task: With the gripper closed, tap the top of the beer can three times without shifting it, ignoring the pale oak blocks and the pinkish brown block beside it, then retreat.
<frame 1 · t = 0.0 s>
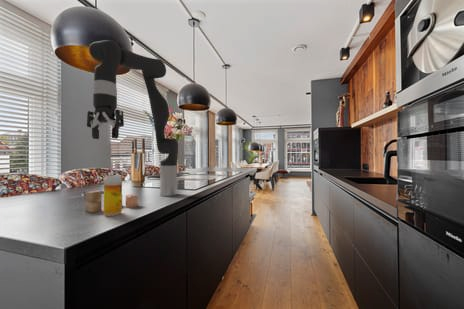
hand: (105, 138, 76), 29 cm above the counter, fingers open, 8 cm apart
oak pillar: (93, 210, 85), on the counter
pinkish brown block: (132, 206, 93), on the counter
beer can: (112, 214, 80), on the counter
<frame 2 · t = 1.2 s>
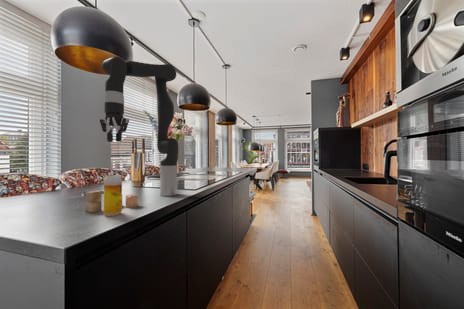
hand: (114, 141, 91), 29 cm above the counter, fingers open, 3 cm apart
nothing on the counter moved.
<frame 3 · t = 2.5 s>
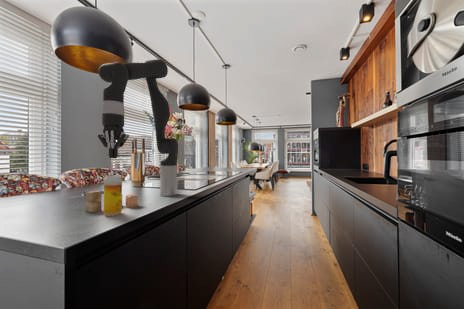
hand: (113, 158, 80), 22 cm above the counter, fingers closed
nothing on the counter moved.
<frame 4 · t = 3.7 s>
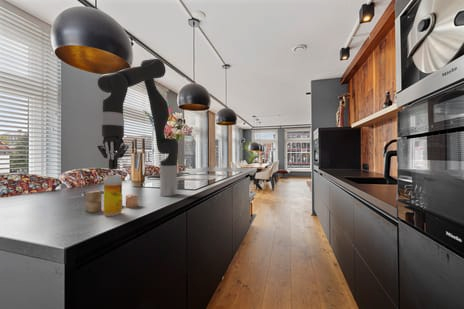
hand: (113, 169, 80), 18 cm above the counter, fingers closed
nothing on the counter moved.
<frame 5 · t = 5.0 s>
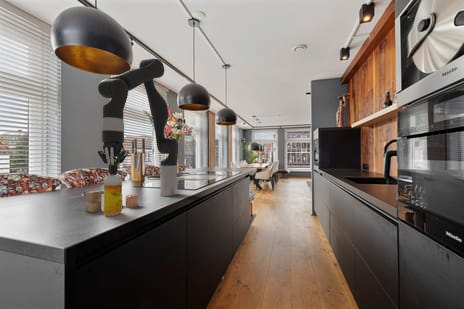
hand: (113, 174, 80), 15 cm above the counter, fingers closed
nothing on the counter moved.
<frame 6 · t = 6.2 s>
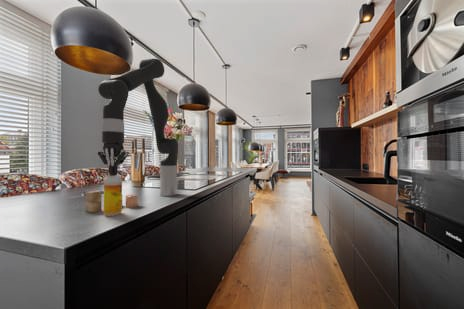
hand: (113, 175, 80), 15 cm above the counter, fingers closed
nothing on the counter moved.
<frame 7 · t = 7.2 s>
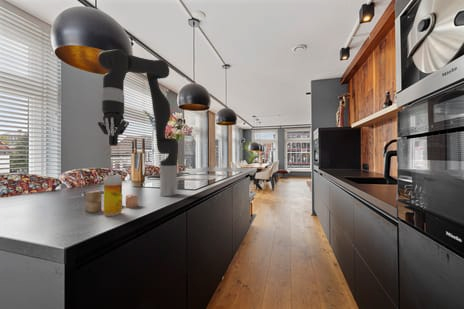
hand: (113, 145, 80), 27 cm above the counter, fingers closed
nothing on the counter moved.
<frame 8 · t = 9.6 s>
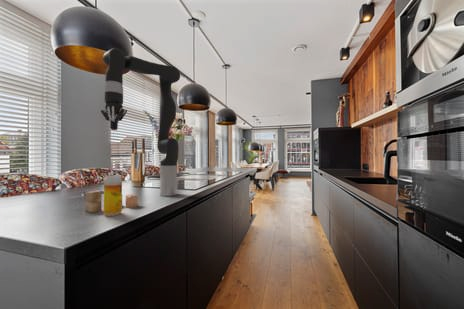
hand: (113, 129, 96), 35 cm above the counter, fingers closed
nothing on the counter moved.
at the end: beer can moved 0.2 cm from its start; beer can tilted 0°; the gripper is holding nothing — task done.
